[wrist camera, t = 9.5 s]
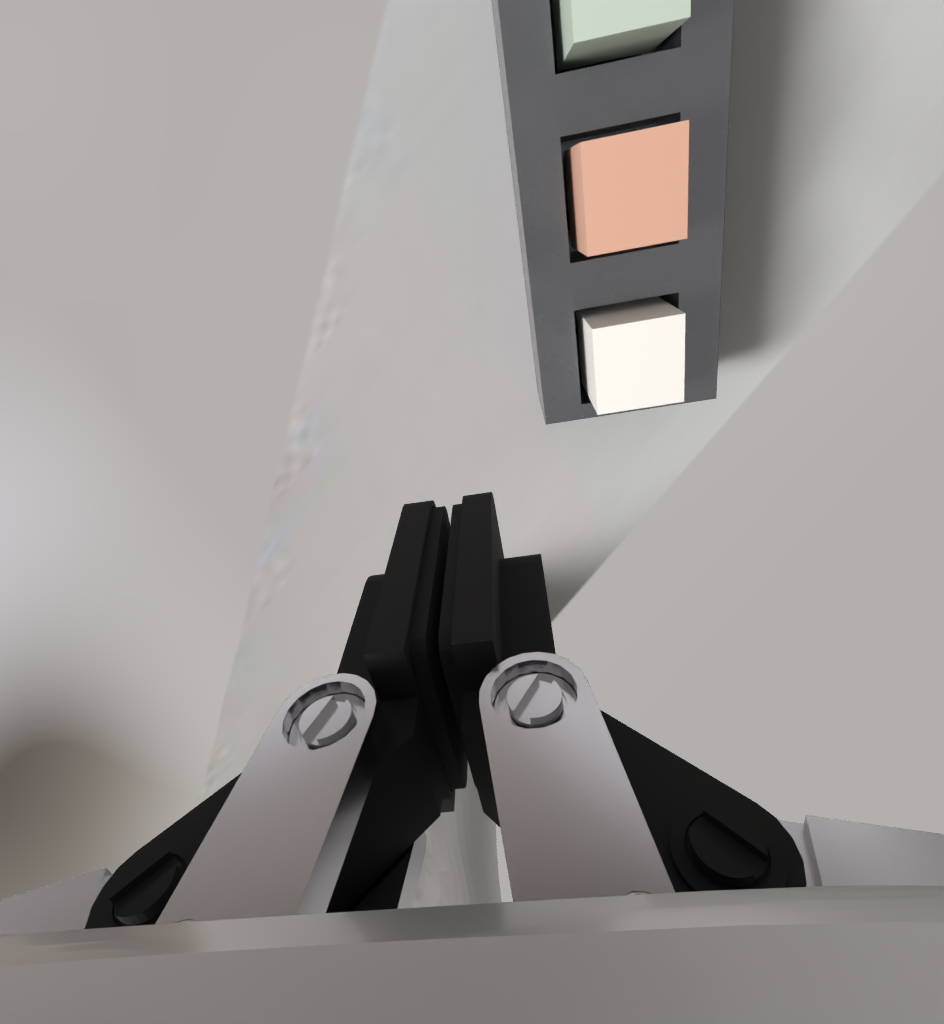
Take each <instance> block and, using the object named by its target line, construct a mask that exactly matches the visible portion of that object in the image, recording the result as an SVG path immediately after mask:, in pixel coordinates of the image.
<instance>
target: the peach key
mask: <svg viewBox="0 0 944 1024" xmlns="http://www.w3.org/2000/svg"><path fill="white" fill-rule="evenodd" d="M564 159H565V172H566V185H567V198H568V211H569V224H570V237H571V247H573V248H574V249H576V250H578V251H579V252H581V253H582V254H584V255H586V256H587V257H589V256H595V255H600V254H606V253H611V252H617V251H622V250H627V249H633V248H638V247H644V246H649V245H655V244H660V243H666V242H671V241H676V240H682V239H687V228H688V165H689V120H686V121H681V122H676V123H671V124H666V125H662V126H657V127H652V128H647V129H642V130H637V131H632V132H628V133H623V134H618V135H613V136H608V137H603V138H598V139H594V140H589V141H584V142H580V143H578V144H576V145H575V146H573V147H571V148H569V149H568V150H566V151H564Z"/></svg>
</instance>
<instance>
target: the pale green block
mask: <svg viewBox="0 0 944 1024" xmlns="http://www.w3.org/2000/svg"><path fill="white" fill-rule="evenodd" d="M552 5H553V18H554V31H555V44H556V57H557V70H558V71H563V70H567V69H572V68H576V67H581V66H585V65H590V64H594V63H599V62H604V61H608V60H613V59H617V58H622V57H626V56H631V55H635V54H640V53H644V52H649V51H652V50H653V49H654V48H656V47H657V46H658V45H659V44H660V43H661V42H662V41H664V40H665V39H666V38H667V37H668V36H669V35H670V34H672V33H673V32H674V31H675V30H676V29H677V28H678V27H679V26H681V25H682V24H683V23H684V22H685V21H686V20H687V19H689V18H690V17H691V0H552Z"/></svg>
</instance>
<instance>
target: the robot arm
mask: <svg viewBox="0 0 944 1024" xmlns="http://www.w3.org/2000/svg"><path fill="white" fill-rule="evenodd" d="M496 824H497V825H498V826H499V827H500V828H501V834H502V839H503V845H504V851H505V857H506V863H507V869H508V874H509V880H510V886H511V892H512V897H513V902H502V901H501V892H500V883H499V875H498V861H497V846H496ZM0 1024H944V834H938V833H931V832H923V831H916V830H909V829H902V828H895V827H888V826H880V825H873V824H866V823H858V822H851V821H845V820H837V819H830V818H823V817H816V816H808V815H806V817H805V822H804V824H801V823H794V822H786V821H780V820H777V818H775V817H774V816H773V815H771V814H770V813H769V812H768V811H766V810H765V809H764V808H762V807H761V806H760V805H758V804H757V803H755V802H753V801H752V800H750V799H749V798H747V797H745V796H743V795H742V794H740V793H739V792H737V791H735V790H734V789H732V788H730V787H729V786H727V785H725V784H724V783H722V782H720V781H718V780H717V779H715V778H713V777H712V776H710V775H709V774H707V773H705V772H704V771H702V770H700V769H698V768H697V767H695V766H693V765H692V764H690V763H688V762H687V761H685V760H683V759H682V758H680V757H678V756H677V755H675V754H673V753H672V752H670V751H668V750H667V749H665V748H663V747H661V746H660V745H658V744H657V743H655V742H653V741H652V740H650V739H648V738H646V737H645V736H643V735H642V734H640V733H638V732H637V731H635V730H633V729H631V728H630V727H628V726H626V725H625V724H623V723H621V722H620V721H618V720H616V719H615V718H613V717H611V716H610V715H608V714H606V713H605V712H603V711H601V710H600V709H599V707H598V705H597V702H596V699H595V697H594V695H593V693H592V690H591V687H590V685H589V683H588V680H587V679H586V677H585V676H584V674H583V673H582V671H581V670H580V668H579V667H577V666H576V665H575V664H574V663H572V662H571V661H570V660H568V659H566V658H563V657H561V656H558V655H556V654H555V647H554V640H553V633H552V627H551V620H550V613H549V606H548V600H547V593H546V586H545V579H544V572H543V566H542V559H541V554H537V555H529V556H521V557H513V558H506V559H504V555H503V549H502V544H501V538H500V532H499V527H498V521H497V515H496V509H495V504H494V498H493V494H492V492H489V493H482V494H475V495H468V496H463V500H462V504H457V505H453V508H452V517H451V526H450V522H449V518H448V513H447V510H446V507H445V506H443V507H436V505H435V503H434V501H433V500H432V501H425V502H418V503H411V504H404V506H403V509H402V512H401V516H400V520H399V523H398V527H397V531H396V535H395V538H394V542H393V546H392V549H391V553H390V557H389V560H388V564H387V568H386V571H385V574H381V575H374V576H370V577H368V579H367V581H366V583H365V586H364V590H363V593H362V596H361V599H360V602H359V605H358V609H357V612H356V615H355V618H354V621H353V625H352V628H351V631H350V634H349V637H348V640H347V644H346V647H345V650H344V653H343V656H342V659H341V663H340V666H339V669H338V672H337V674H332V675H327V676H324V677H321V678H318V679H315V680H313V681H311V682H309V683H308V684H306V685H304V686H302V687H301V688H299V689H298V690H297V691H295V692H294V693H293V694H292V695H291V696H290V697H288V698H287V699H286V700H285V702H284V703H283V704H282V706H281V707H280V708H279V710H278V711H277V713H276V714H275V716H274V718H273V720H272V721H271V723H270V725H269V726H268V728H267V730H266V732H265V733H264V735H263V737H262V739H261V740H260V742H259V744H258V746H257V747H256V749H255V751H254V753H253V754H252V756H251V758H250V760H249V761H248V763H247V765H246V767H245V768H244V770H243V772H242V773H241V774H239V775H238V776H237V777H235V778H234V779H233V780H231V781H230V782H229V783H227V784H226V785H225V786H223V787H222V788H221V789H219V790H218V791H217V792H215V793H214V794H213V795H211V796H210V797H209V798H207V799H206V800H205V801H203V802H202V803H201V804H199V805H198V806H197V807H195V808H194V809H193V810H191V811H190V812H189V813H187V814H186V815H185V816H183V817H182V818H181V819H179V820H178V821H177V822H175V823H174V824H173V825H171V826H170V827H169V828H167V829H166V830H165V831H163V832H162V833H161V834H159V835H158V836H157V837H155V838H154V839H153V840H151V841H150V842H149V843H147V844H146V845H145V846H143V847H142V848H140V849H139V850H138V851H137V852H135V853H134V854H133V855H132V856H131V857H130V858H129V859H127V860H126V861H125V862H124V863H123V864H122V865H121V866H120V867H119V868H118V869H117V870H116V871H115V873H114V874H113V875H112V874H111V873H110V871H109V870H108V869H107V868H103V869H100V870H97V871H93V872H90V873H87V874H83V875H81V876H77V877H74V878H71V879H67V880H64V881H61V882H58V883H55V884H51V885H48V886H45V887H42V888H38V889H36V890H32V891H29V892H25V893H22V894H19V895H16V896H13V897H10V898H6V899H3V900H0Z"/></svg>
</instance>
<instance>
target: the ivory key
mask: <svg viewBox="0 0 944 1024" xmlns="http://www.w3.org/2000/svg"><path fill="white" fill-rule="evenodd" d="M576 317H577V330H578V343H579V356H580V369H581V382H582V385H583V387H584V389H585V391H586V393H587V395H588V397H589V399H590V401H591V403H592V405H593V407H594V409H595V411H596V413H597V415H601V414H607V413H614V412H620V411H627V410H633V409H640V408H646V407H653V406H660V405H666V404H673V403H679V402H684V378H685V313H684V312H682V311H681V310H679V309H677V308H676V307H674V306H672V305H671V304H669V303H667V302H666V301H664V300H662V299H661V298H659V297H657V296H655V297H649V298H643V299H638V300H632V301H626V302H620V303H615V304H609V305H603V306H597V307H592V308H586V309H580V310H576Z"/></svg>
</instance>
